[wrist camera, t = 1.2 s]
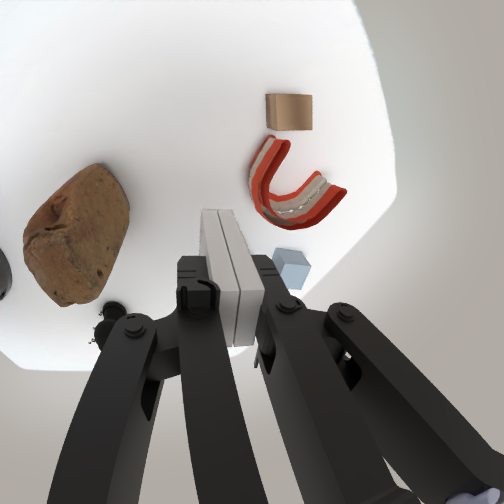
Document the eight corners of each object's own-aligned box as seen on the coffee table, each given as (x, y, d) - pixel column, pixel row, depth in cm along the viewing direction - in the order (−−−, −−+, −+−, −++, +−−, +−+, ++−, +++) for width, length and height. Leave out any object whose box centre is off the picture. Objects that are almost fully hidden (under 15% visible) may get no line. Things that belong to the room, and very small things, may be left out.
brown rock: (137, 216, 39) (110, 303, 23) (98, 233, 39) (58, 321, 22) (109, 153, 33) (49, 203, 17) (69, 174, 33) (-1, 237, 16)
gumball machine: (98, 317, 47) (89, 356, 39) (97, 295, 45) (86, 334, 36) (129, 323, 50) (124, 362, 41) (131, 302, 47) (125, 342, 39)
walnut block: (266, 127, 37) (276, 130, 33) (265, 94, 34) (276, 93, 30) (298, 126, 38) (312, 130, 34) (298, 94, 35) (312, 95, 31)
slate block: (267, 271, 50) (275, 287, 46) (275, 247, 48) (285, 263, 44) (291, 273, 52) (301, 289, 48) (300, 251, 50) (311, 266, 46)
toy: (225, 185, 40) (234, 204, 34) (266, 130, 37) (284, 137, 30) (286, 224, 46) (304, 247, 40) (324, 175, 43) (349, 192, 36)
